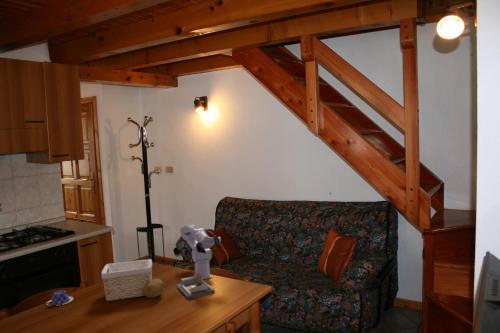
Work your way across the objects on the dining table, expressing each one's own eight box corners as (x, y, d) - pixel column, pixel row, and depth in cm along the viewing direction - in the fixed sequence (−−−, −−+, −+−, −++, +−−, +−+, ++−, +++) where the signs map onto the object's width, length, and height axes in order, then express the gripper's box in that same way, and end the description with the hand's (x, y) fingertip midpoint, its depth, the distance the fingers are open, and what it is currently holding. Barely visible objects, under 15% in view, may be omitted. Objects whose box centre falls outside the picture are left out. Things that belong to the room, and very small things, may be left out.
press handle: (190, 290, 197) (189, 275, 197) (205, 287, 201) (204, 272, 200) (192, 292, 194) (191, 277, 194) (207, 289, 198) (206, 274, 197)
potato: (167, 290, 205) (166, 275, 204) (160, 301, 191) (159, 285, 190) (148, 291, 205) (147, 275, 204) (140, 302, 191) (139, 286, 190)
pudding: (62, 308, 190) (61, 297, 190) (41, 307, 193) (40, 296, 192) (78, 298, 202) (77, 287, 202) (58, 297, 204) (57, 287, 204)
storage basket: (102, 303, 193) (100, 273, 192) (107, 290, 209) (105, 263, 208) (153, 296, 198) (151, 267, 197) (154, 285, 214) (152, 258, 213)
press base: (177, 287, 208) (176, 279, 208) (202, 282, 214) (202, 273, 214) (187, 299, 192) (186, 289, 192) (214, 292, 198) (214, 283, 198)
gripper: (189, 237, 210) (196, 246, 198) (215, 228, 215) (224, 237, 203) (192, 249, 212) (199, 259, 200) (218, 240, 217) (226, 250, 205)
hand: (212, 249), depth 202 cm, fingers open, 7 cm apart
